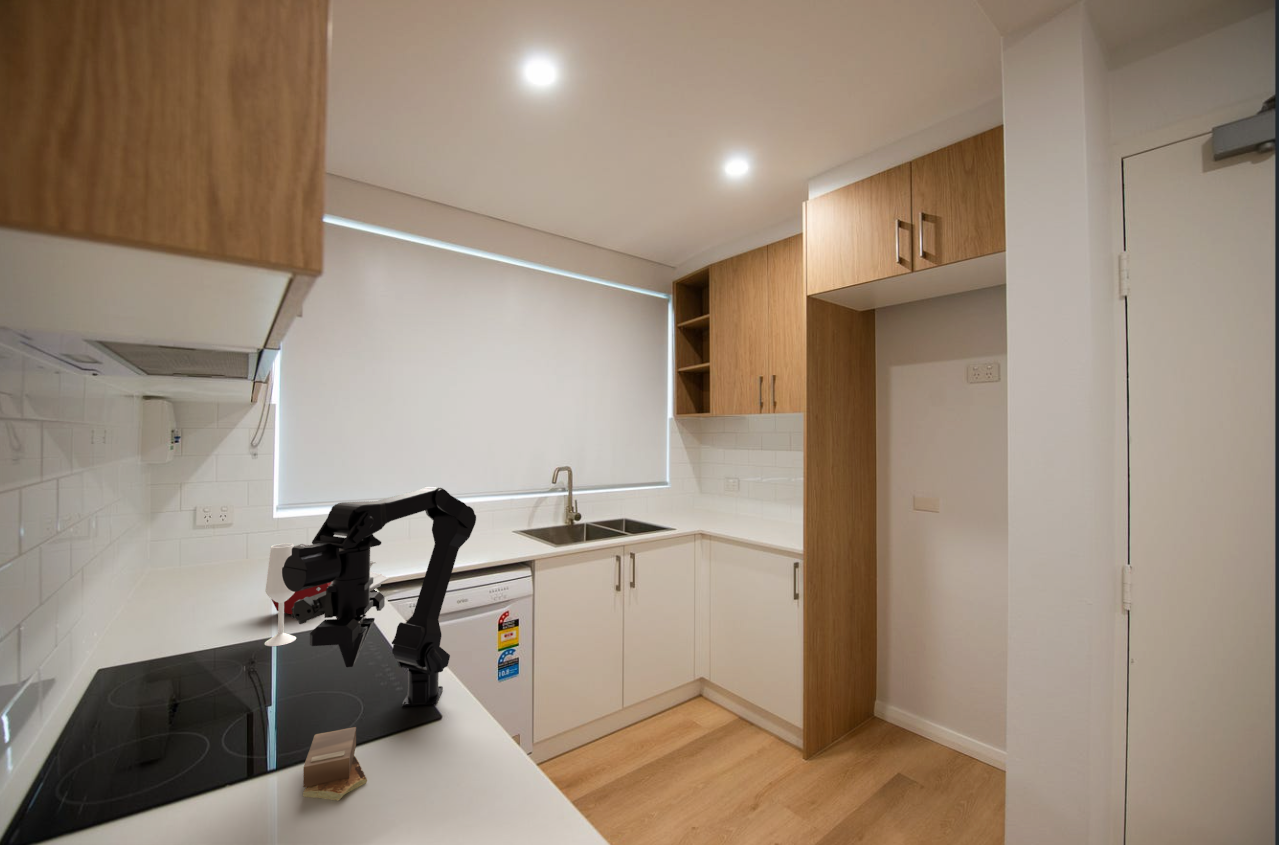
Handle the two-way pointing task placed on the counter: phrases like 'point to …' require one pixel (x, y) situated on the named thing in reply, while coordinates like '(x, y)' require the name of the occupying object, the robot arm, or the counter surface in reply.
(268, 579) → the champagne flute
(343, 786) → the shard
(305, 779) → the walnut slab
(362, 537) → the robot arm
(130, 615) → the counter surface
